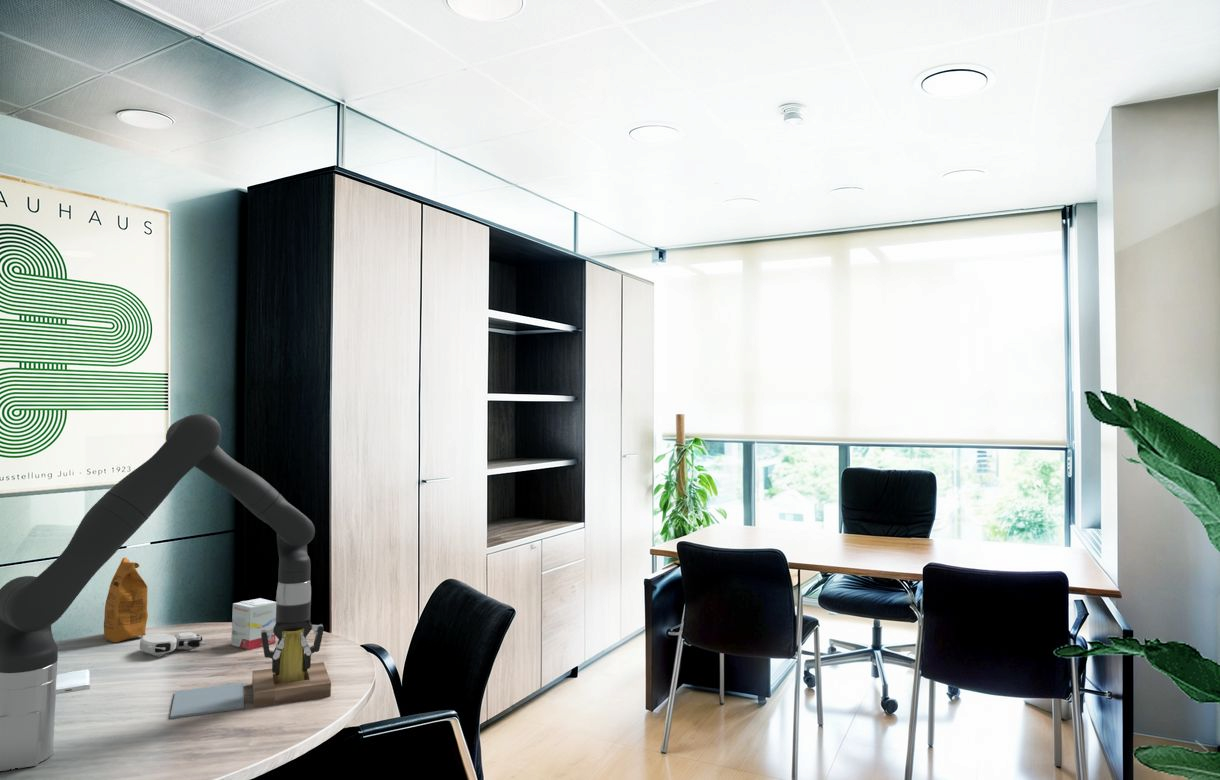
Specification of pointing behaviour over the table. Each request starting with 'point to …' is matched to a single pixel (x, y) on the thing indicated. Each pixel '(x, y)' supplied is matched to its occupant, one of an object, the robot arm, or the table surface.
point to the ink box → (252, 622)
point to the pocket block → (290, 686)
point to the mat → (207, 700)
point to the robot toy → (169, 642)
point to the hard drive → (72, 681)
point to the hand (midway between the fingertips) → (291, 672)
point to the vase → (291, 658)
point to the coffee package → (126, 604)
